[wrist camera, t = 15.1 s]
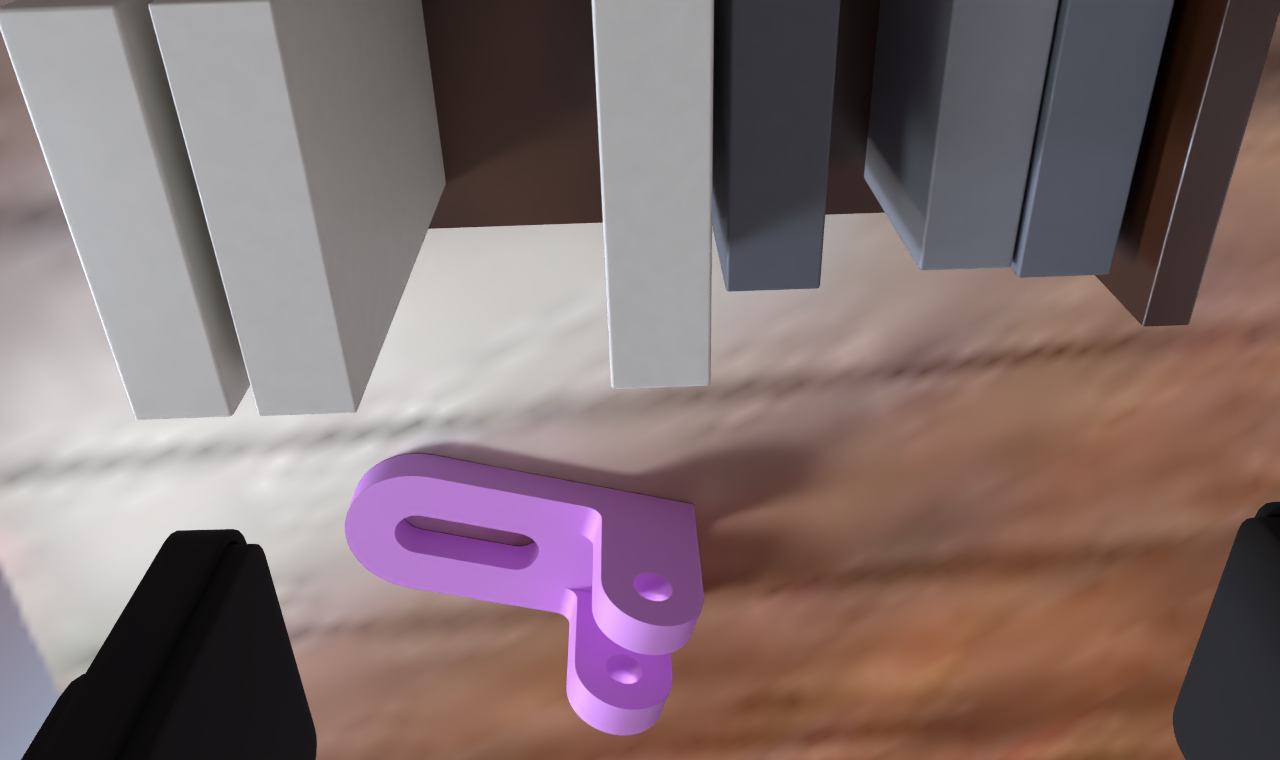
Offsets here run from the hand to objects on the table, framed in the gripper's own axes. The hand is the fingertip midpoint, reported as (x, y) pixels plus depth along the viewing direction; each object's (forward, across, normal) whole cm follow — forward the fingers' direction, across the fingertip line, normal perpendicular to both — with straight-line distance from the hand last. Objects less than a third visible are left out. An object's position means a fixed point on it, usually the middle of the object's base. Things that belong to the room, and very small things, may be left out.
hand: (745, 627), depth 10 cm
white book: (+23, +1, -1) cm, 23 cm away
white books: (+23, +9, 0) cm, 25 cm away
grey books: (+23, -7, 0) cm, 24 cm away
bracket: (+24, +6, +19) cm, 31 cm away
